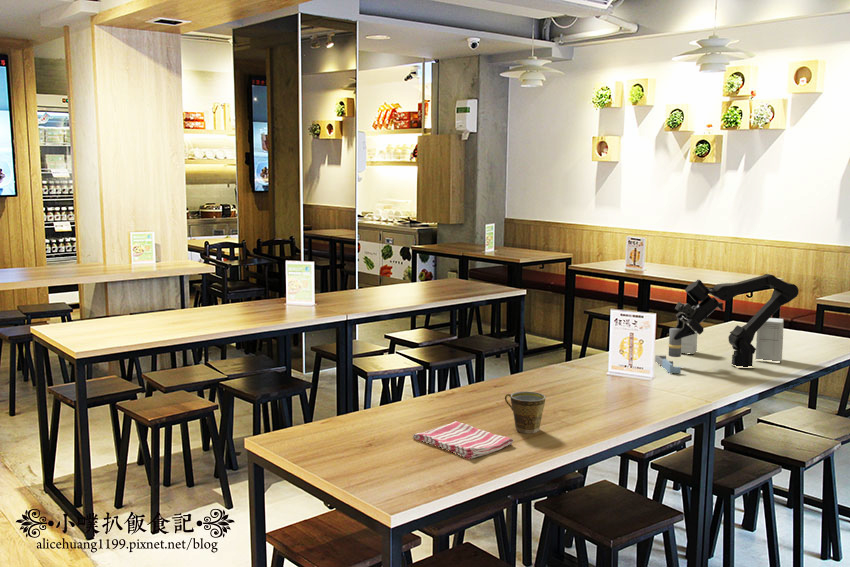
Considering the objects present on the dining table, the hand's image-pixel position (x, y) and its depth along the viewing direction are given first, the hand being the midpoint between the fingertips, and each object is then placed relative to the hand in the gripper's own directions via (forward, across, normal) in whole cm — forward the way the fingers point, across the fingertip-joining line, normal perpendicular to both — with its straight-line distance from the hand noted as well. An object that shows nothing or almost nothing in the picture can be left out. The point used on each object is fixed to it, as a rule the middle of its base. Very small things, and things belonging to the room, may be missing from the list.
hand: (673, 337), depth 294 cm
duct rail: (+10, +2, +7) cm, 12 cm away
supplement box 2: (-21, -13, +38) cm, 46 cm away
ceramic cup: (+53, +79, -37) cm, 102 cm away
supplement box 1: (-1, -26, +17) cm, 31 cm away
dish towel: (+66, +92, -49) cm, 123 cm away
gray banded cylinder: (+4, 0, +6) cm, 7 cm away
